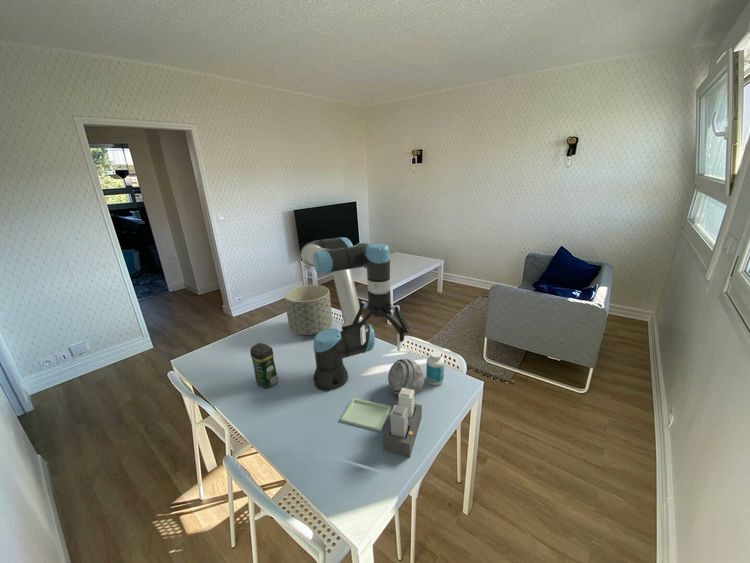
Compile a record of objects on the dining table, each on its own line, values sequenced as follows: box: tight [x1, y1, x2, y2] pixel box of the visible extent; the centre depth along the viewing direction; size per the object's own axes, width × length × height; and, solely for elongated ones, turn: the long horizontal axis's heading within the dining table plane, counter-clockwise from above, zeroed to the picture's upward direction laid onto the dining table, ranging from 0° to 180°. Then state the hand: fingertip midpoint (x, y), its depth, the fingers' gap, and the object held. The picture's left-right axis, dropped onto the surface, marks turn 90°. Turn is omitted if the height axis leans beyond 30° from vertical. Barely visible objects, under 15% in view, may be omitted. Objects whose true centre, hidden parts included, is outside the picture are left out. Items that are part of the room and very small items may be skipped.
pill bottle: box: [425, 350, 445, 386], centre depth 132 cm, size 8×7×14 cm
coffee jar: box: [249, 342, 279, 389], centre depth 134 cm, size 10×8×19 cm
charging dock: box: [382, 388, 423, 458], centre depth 105 cm, size 9×18×15 cm, turn 160°
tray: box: [340, 397, 393, 433], centre depth 116 cm, size 16×12×2 cm
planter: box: [284, 284, 333, 336], centre depth 178 cm, size 25×25×24 cm
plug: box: [390, 404, 408, 439], centre depth 101 cm, size 4×4×13 cm
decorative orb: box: [387, 358, 425, 396], centre depth 125 cm, size 15×14×15 cm
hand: (381, 345), depth 109 cm, fingers open, 13 cm apart
